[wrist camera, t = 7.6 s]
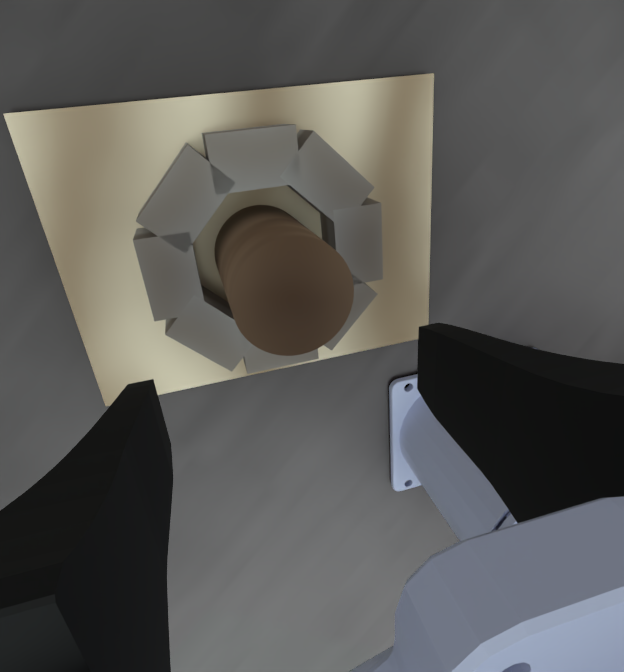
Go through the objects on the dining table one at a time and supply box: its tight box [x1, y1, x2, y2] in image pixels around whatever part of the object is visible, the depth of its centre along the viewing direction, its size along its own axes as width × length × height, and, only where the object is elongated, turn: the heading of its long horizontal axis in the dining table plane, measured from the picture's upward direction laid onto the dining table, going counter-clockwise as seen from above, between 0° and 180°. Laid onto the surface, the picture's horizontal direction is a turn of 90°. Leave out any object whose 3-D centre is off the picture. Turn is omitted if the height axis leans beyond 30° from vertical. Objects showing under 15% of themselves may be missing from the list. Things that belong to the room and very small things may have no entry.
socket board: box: [4, 73, 434, 406], centre depth 19 cm, size 16×12×3 cm
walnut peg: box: [215, 205, 354, 356], centre depth 17 cm, size 4×4×6 cm
